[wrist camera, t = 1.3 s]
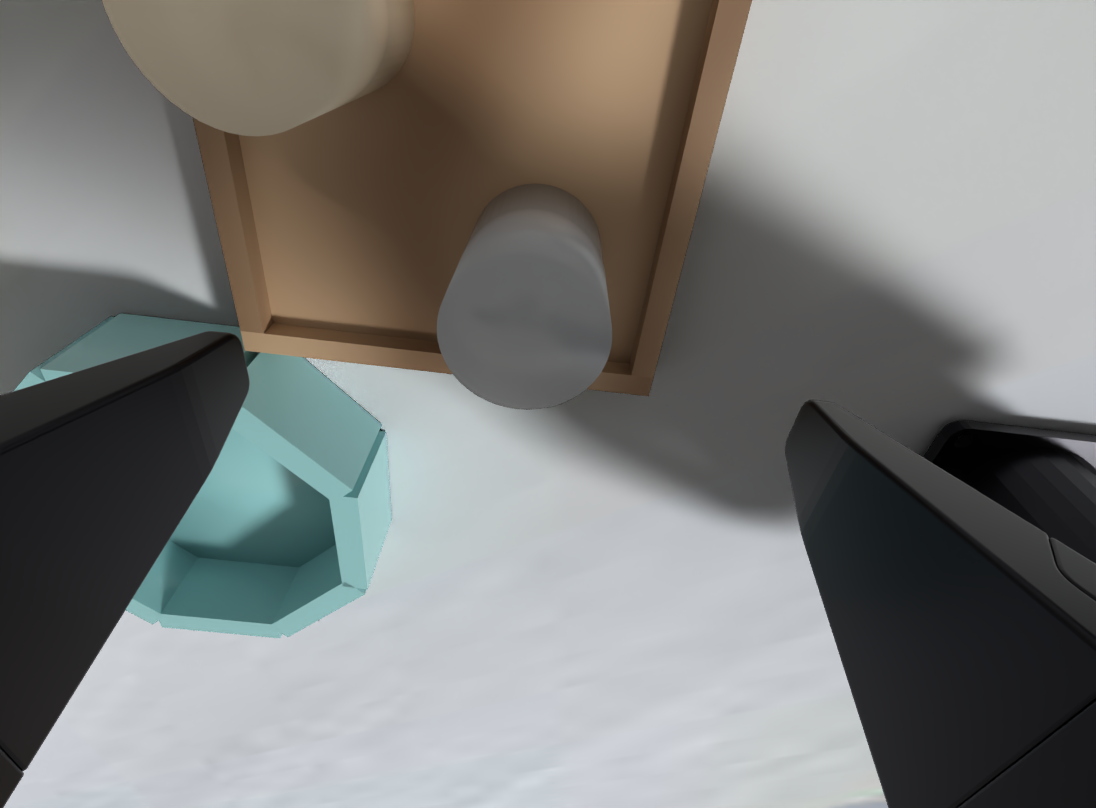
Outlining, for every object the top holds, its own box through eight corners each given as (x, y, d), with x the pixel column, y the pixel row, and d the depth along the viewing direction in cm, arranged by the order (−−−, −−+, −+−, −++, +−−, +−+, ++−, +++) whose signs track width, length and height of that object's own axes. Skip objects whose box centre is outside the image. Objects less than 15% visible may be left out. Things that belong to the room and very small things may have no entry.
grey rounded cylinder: (612, 192, 13) (627, 265, 10) (590, 316, 15) (597, 418, 11) (474, 175, 13) (436, 242, 9) (469, 302, 15) (436, 399, 11)
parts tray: (789, -214, 10) (814, -237, 9) (644, 372, 17) (648, 396, 16) (137, -314, 9) (88, -351, 8) (264, 329, 16) (244, 350, 15)
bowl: (380, 342, 16) (346, 403, 14) (395, 576, 23) (374, 647, 20) (1, 299, 16) (-101, 353, 14) (121, 549, 22) (65, 617, 20)
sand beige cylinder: (412, -89, 10) (327, -137, 7) (416, 105, 12) (350, 149, 9) (236, -115, 10) (52, -177, 7) (266, 85, 12) (135, 121, 9)
